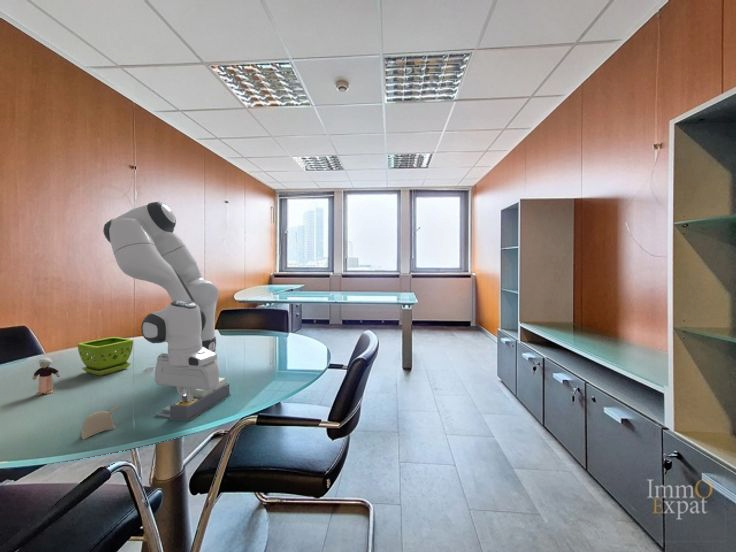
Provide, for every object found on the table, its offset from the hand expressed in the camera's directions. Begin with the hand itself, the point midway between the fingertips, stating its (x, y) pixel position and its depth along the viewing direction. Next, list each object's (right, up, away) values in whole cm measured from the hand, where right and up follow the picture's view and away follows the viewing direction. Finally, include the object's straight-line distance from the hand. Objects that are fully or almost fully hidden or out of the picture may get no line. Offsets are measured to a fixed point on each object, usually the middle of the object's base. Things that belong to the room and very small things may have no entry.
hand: (186, 400), depth 91 cm
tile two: (+1, -2, +6) cm, 6 cm away
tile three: (0, -4, 0) cm, 4 cm away
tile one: (+3, -1, +12) cm, 12 cm away
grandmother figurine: (-59, -4, +15) cm, 61 cm away
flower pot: (-56, -3, +38) cm, 68 cm away
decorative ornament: (-19, -5, -8) cm, 21 cm away
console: (-1, -4, +7) cm, 8 cm away
